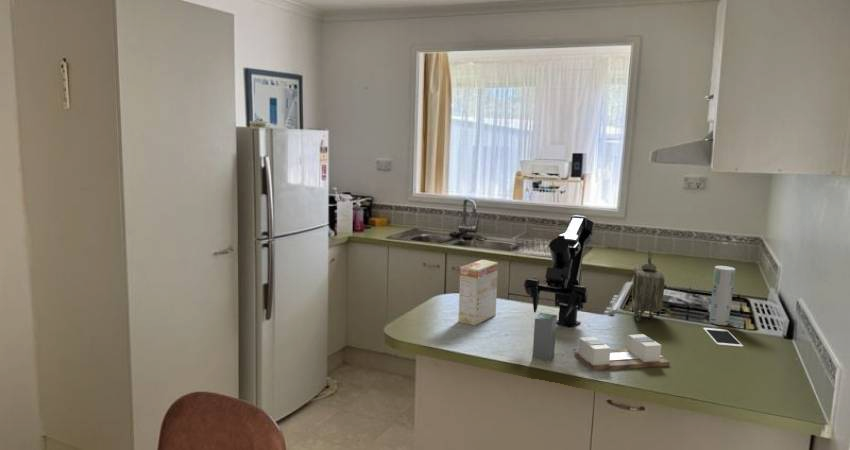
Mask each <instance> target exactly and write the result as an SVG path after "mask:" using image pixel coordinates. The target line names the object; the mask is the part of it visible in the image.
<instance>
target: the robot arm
mask: <svg viewBox="0 0 850 450" xmlns="http://www.w3.org/2000/svg"><path fill="white" fill-rule="evenodd" d="M595 231H596V225H595V223H594V221H592V220H590V219H588V218H587V216H585V215H576V214H574V215H571V217H570V219H569V223H568V227H567V228H566V230H565V232H564V233H561V234H558V235H557V238H554V239H552V240H551V241H550V242H549V245H548V246H549V247H548V248H549V252H550V256H551V259H552V265H551V267H549V266H547V267H546V270H545V277H544V278H545V283H546V284H547V285H546V284H540V280H539V279H534V278H527V279H526V280H524V284H523V286H524V290H525V293H526V295H528V296H529V297H530V298H532V306H533V313H537V310H538V305H539V302H540V301H539V300H540V293H541V292H545V293H550V294H551V293H552V294H554V306H555V307H558V308H559V310H558V319H557V322H556V324H559V325H561V326H564V327H568V328H572V327H575V326H578V325H580V324H581V322H580V321H578V320H577V319H578V310H579V311H580V310H582V309H584V304H586V303H588V301H587V300H588V288H587V287H586V286H585V285H580V283H579V279H580V273H581V269H582V263H583V260H584V254H585V248H586V246H587V245H588V244H590V243H591V241H592V238H593V236H594V235H595Z"/></svg>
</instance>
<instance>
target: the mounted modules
mask: <svg viewBox="0 0 850 450" xmlns="http://www.w3.org/2000/svg"><path fill="white" fill-rule="evenodd" d="M578 341H579V342H578V351H577V352H578V353H579V354H580V355H582V356H584V357H585V358H586V359H587V360H589V361H590V363H591V364H592V365H605V364H609V363H610V351H611V350H612V348H611V347H610V346H608V345H607V344H606V343H605V342H603V341H602V340H600V339H598V337H596V336H587V337H586V336H584V337H583V336H581V337H579V338H578ZM626 346H627V347H626V349H627V350H628V351H629V352H632V353H633V354H635V355H636V356H638V357H639V358H640V359H641V360H642V361H644V362H652V361H660V355H661V351H662V344H660V343H659V342H657V341H655V340H654V339H652V338H651V337H649V336H647V335H645V334H644V333H641V334H639V333H638V334H628V337H627V345H626Z"/></svg>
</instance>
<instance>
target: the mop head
mask: <svg viewBox="0 0 850 450" xmlns="http://www.w3.org/2000/svg"><path fill="white" fill-rule="evenodd" d="M652 253H653V252H652V250H651V249H649V250H648V255H647V257H648V258H647V262H644V263H643V264H641V266H639V267H638V266H636V267H634V270H633V278H632V280H633V281H632V284H633V285H632V292H631V306H632V310H633V312H634V313H639V315H638V317H636V319H635V320H636V322H641V320H642V319H641V317H642V315H643V314H644V313H645V312H648V313H649V314H648V318H649V319H650V320H653V318H654V314H652V313H658V312H660V311H662V309H663V304H664V303H663V301H664V293H665V291H664V290H665V283H666V282H665V275H664V273H663V272H662V271H660V270H659V269H657V266H656V265H655V263H654V262H652V259H653V254H652Z"/></svg>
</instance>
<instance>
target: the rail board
mask: <svg viewBox="0 0 850 450" xmlns="http://www.w3.org/2000/svg"><path fill="white" fill-rule="evenodd" d="M574 356H575V357H576V358H577V360H579V361H580V362H582V364H584V365H585V366H586V367H588V368H589V369H590V370H591V371H592V370H593V371H594V372H596V371H611V370H613V371H614V370H626V369H628V370H629V369H642V368H654V367H655V368H656V367H670V364H671V361H669V360H667V359H666V358H664V356H663V355H661V354H660V361H652V362H644V361H642V360H641V359H640V358H639V357H638V356H636V355H635V354H633V353H632V352H629V351H628V350H627V348H621V349H618V348H617V349H611V351H610V363H609V364H605V365H592V364H591V363H590V361H589V360H587V359H586V358H585V357H584V356H582V355H580V354H579V353H578V351H575V352H574Z"/></svg>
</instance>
